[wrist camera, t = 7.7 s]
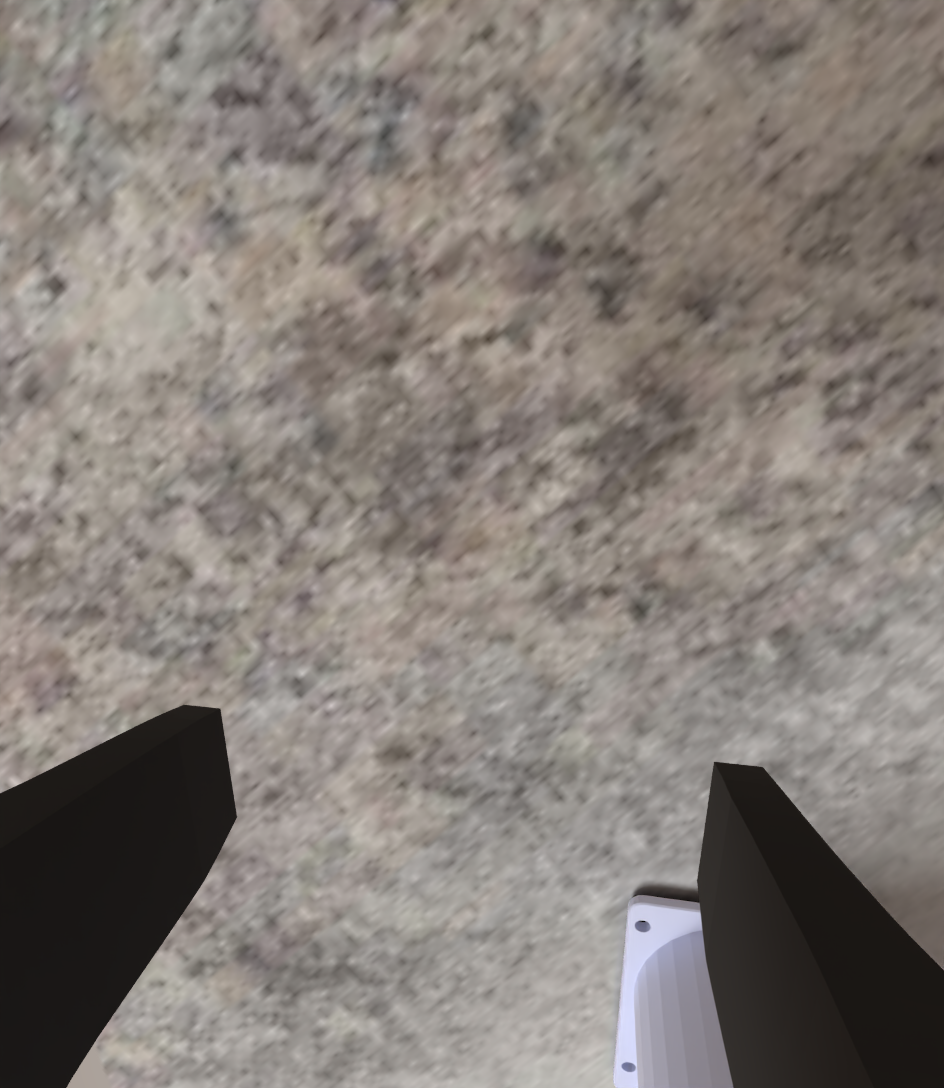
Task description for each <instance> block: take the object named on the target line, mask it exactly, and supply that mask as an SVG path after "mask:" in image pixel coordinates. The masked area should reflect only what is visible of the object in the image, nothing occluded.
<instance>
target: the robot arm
mask: <svg viewBox="0 0 944 1088" xmlns="http://www.w3.org/2000/svg"><path fill="white" fill-rule="evenodd" d="M236 818H237V815H236V808H235V802H234V795H233V789H232V782H231V776H230V769H229V762H228V756H227V749H226V743H225V736H224V730H223V723H222V717H221V710H220V709H218V708H209V707H199V706H190V705H183V706H180V707H178V708H175V709H173V710H170V711H168V712H166V713H163V714H161V715H159V716H157V717H155V718H153V719H150V720H148V721H146V722H144V723H142V724H140V725H138V726H136V727H134V728H132V729H130V730H128V731H126V732H124V733H122V734H120V735H118V736H116V737H114V738H112V739H110V740H108V741H106V742H104V743H102V744H100V745H98V746H96V747H94V748H92V749H90V750H88V751H86V752H84V753H82V754H80V755H78V756H76V757H74V758H72V759H70V760H68V761H66V762H64V763H62V764H60V765H58V766H56V767H54V768H52V769H50V770H48V771H46V772H44V773H42V774H40V775H38V776H36V777H34V778H32V779H30V780H28V781H26V782H24V783H22V784H19V785H17V786H15V787H13V788H11V789H9V790H7V791H5V792H2V793H0V1088H66V1087H67V1086H68V1084H69V1082H70V1080H71V1079H72V1077H73V1075H74V1074H75V1072H76V1071H77V1069H78V1068H79V1066H80V1064H81V1063H82V1061H83V1060H84V1058H85V1057H86V1055H87V1053H88V1052H89V1050H90V1049H91V1047H92V1046H93V1044H94V1042H95V1041H96V1039H97V1038H98V1036H99V1035H100V1033H101V1032H102V1030H103V1029H104V1028H105V1026H106V1025H107V1023H108V1022H109V1020H110V1019H111V1017H112V1016H113V1014H114V1013H115V1011H116V1010H117V1009H118V1007H119V1006H120V1004H121V1003H122V1001H123V1000H124V998H125V997H126V995H127V994H128V993H129V991H130V990H131V988H132V987H133V985H134V984H135V982H136V981H137V979H138V978H139V977H140V975H141V974H142V972H143V971H144V969H145V968H146V966H147V965H148V963H149V962H150V961H151V959H152V958H153V956H154V955H155V953H156V952H157V950H158V949H159V947H160V946H161V945H162V943H163V942H164V940H165V939H166V937H167V936H168V934H169V933H170V931H171V930H172V928H173V927H174V925H175V924H176V922H177V921H178V920H179V918H180V917H181V915H182V914H183V912H184V911H185V909H186V908H187V906H188V905H189V903H190V902H191V900H192V899H193V897H194V896H195V894H196V893H197V891H198V890H199V888H200V887H201V885H202V883H203V882H204V880H205V878H206V877H207V875H208V873H209V871H210V869H211V867H212V865H213V864H214V862H215V860H216V858H217V856H218V854H219V852H220V850H221V848H222V846H223V844H224V842H225V840H226V838H227V836H228V834H229V832H230V830H231V828H232V826H233V824H234V822H235V820H236ZM697 883H698V893H699V903H697V902H690V901H683V900H675V899H668V898H661V897H654V896H646V895H638V896H635V897H633V898H632V899H630V901H629V903H628V911H627V923H626V934H625V945H624V957H623V968H622V979H621V991H620V1002H619V1013H618V1025H617V1036H616V1047H615V1059H614V1070H613V1082H614V1085H615V1086H616V1088H944V970H943V969H942V968H941V967H940V966H939V965H938V964H937V963H936V962H935V961H934V960H933V959H932V958H931V957H930V956H929V955H928V954H927V953H926V952H925V951H924V950H923V949H922V948H921V947H920V946H919V945H918V944H917V943H916V942H915V941H914V940H913V939H912V938H911V937H910V936H909V935H908V934H907V933H906V932H905V930H904V929H903V928H902V927H901V926H900V925H899V924H898V923H897V922H896V921H895V920H894V919H893V918H892V917H891V916H890V914H889V913H888V912H887V911H886V910H885V909H884V908H883V907H882V906H881V904H880V903H879V902H878V901H877V900H876V899H875V898H874V897H873V896H872V894H871V893H870V892H869V891H868V890H867V889H866V888H865V887H864V886H863V884H862V883H861V882H860V881H859V880H858V879H857V878H856V877H855V875H854V874H853V873H852V872H851V871H850V870H849V869H848V868H847V867H846V865H845V864H844V863H843V862H842V861H841V860H840V858H839V857H838V856H837V855H836V854H835V853H834V851H833V850H832V849H831V848H830V847H829V846H828V844H827V843H826V842H825V841H824V840H823V839H822V837H821V836H820V835H819V834H818V833H817V831H816V830H815V829H814V828H813V827H812V826H811V824H810V823H809V822H808V821H807V820H806V818H805V817H804V816H803V815H802V814H801V812H800V811H799V810H798V809H797V807H796V806H795V805H794V804H793V803H792V801H791V800H790V799H789V798H788V797H787V795H786V794H785V793H784V792H783V791H782V789H781V788H780V787H779V786H778V785H777V783H776V782H775V781H774V780H773V779H772V777H771V776H770V775H769V774H768V773H767V772H766V771H765V769H764V768H763V767H757V766H748V765H739V764H729V763H720V762H714V766H713V773H712V780H711V787H710V795H709V802H708V809H707V816H706V823H705V830H704V837H703V844H702V851H701V858H700V865H699V872H698V879H697ZM642 920H644V921H646V922H639V921H642Z"/></svg>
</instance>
